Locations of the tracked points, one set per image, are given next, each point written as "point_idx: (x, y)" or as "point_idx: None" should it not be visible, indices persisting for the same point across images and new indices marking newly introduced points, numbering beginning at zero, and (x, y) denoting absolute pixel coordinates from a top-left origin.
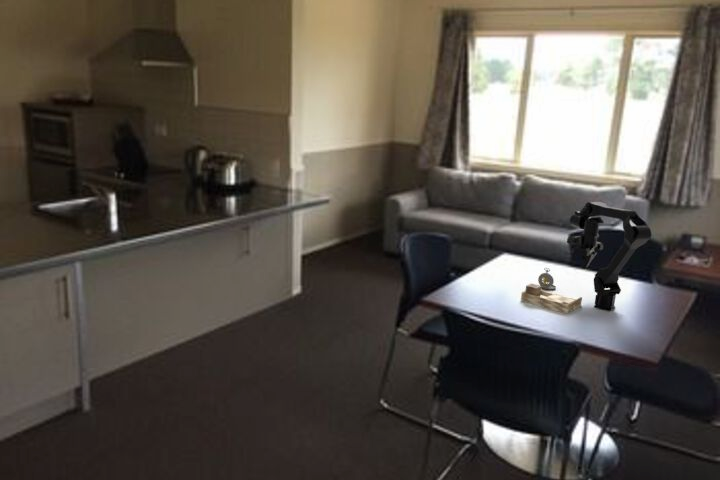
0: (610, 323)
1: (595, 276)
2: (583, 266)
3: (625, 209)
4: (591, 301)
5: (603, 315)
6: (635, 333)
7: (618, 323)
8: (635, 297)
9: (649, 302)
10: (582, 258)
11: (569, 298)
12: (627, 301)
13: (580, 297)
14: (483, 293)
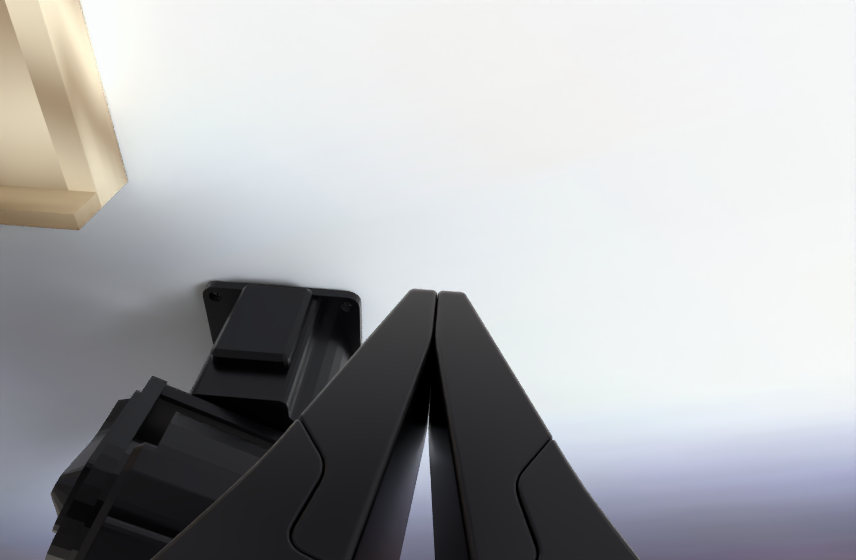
0: (6, 433)
1: (92, 524)
2: (394, 309)
3: None
4: (363, 217)
5: (102, 374)
6: (20, 534)
7: (64, 461)
8: (804, 448)
9: (719, 520)
10: (240, 495)
11: (26, 70)
12: (630, 426)
13: (57, 216)
14: None
